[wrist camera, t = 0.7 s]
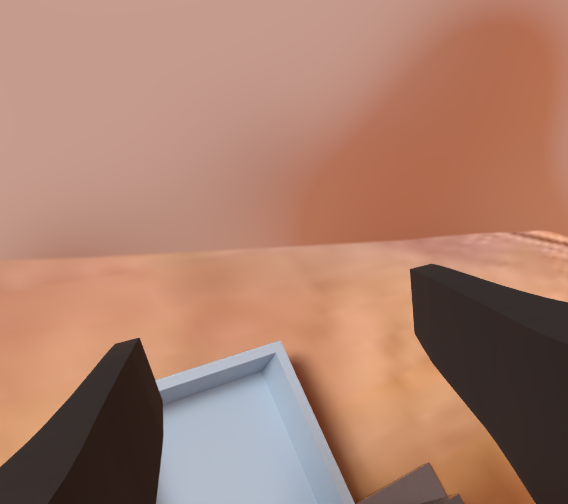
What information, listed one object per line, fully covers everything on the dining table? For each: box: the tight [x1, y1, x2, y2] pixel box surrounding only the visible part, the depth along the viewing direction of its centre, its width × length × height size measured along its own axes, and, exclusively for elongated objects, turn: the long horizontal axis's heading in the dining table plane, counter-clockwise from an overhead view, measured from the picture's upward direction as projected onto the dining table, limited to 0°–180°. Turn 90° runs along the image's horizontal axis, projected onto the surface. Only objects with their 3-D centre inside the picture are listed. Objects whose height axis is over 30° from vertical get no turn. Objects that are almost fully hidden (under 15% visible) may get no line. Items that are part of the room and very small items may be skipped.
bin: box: [155, 341, 355, 504], centre depth 24 cm, size 11×11×4 cm
